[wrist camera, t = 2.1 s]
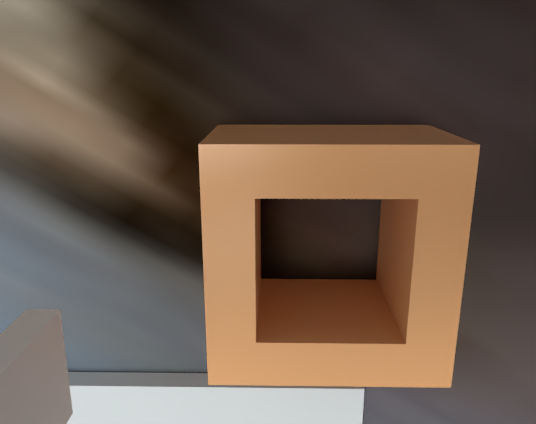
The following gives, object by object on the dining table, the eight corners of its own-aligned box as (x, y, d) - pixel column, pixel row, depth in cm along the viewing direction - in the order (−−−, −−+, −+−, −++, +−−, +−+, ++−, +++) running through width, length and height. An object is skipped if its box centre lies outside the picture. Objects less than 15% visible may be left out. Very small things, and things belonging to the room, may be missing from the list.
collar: (218, 124, 19) (198, 144, 14) (428, 124, 19) (480, 144, 14) (223, 312, 21) (208, 384, 16) (411, 314, 21) (450, 387, 16)
